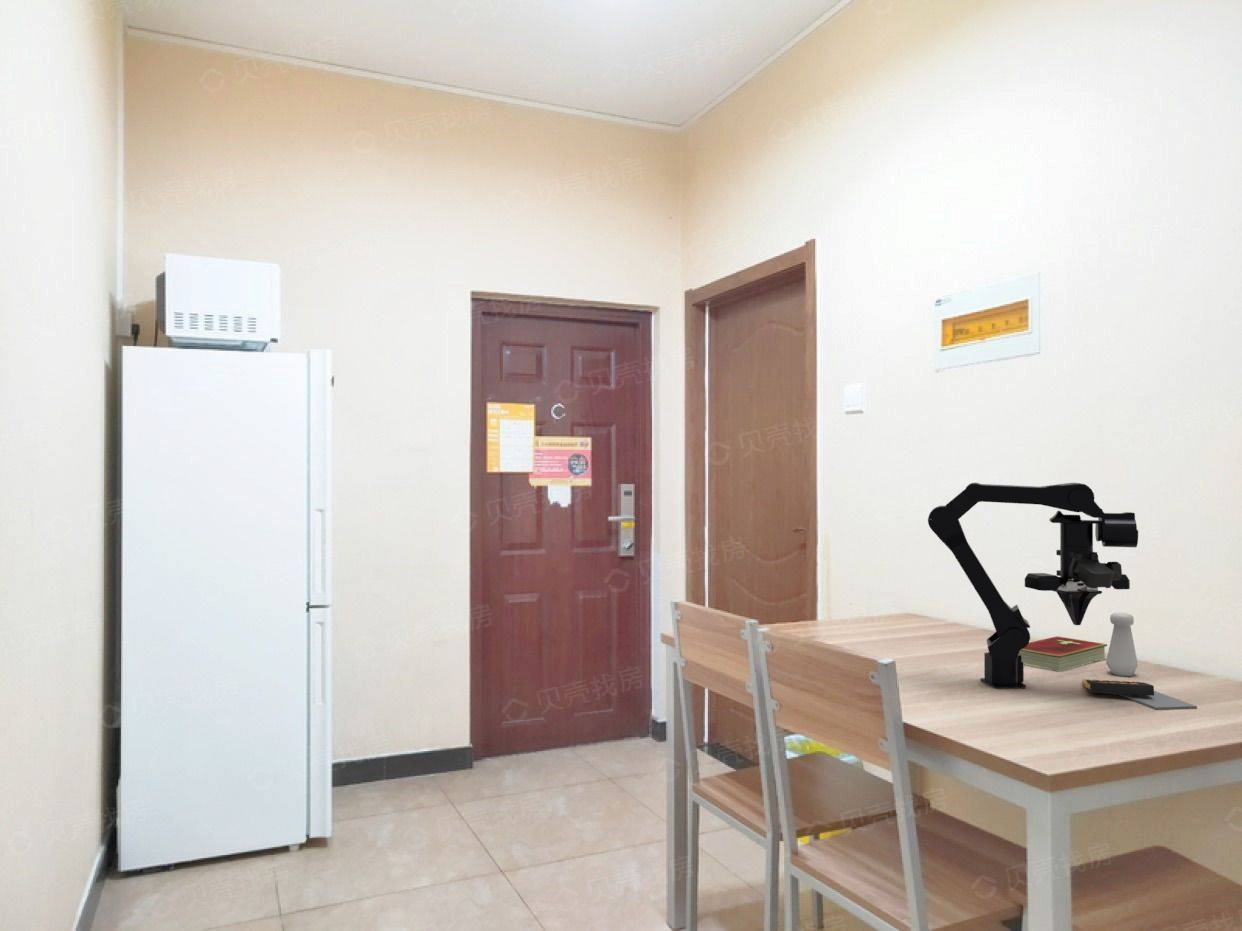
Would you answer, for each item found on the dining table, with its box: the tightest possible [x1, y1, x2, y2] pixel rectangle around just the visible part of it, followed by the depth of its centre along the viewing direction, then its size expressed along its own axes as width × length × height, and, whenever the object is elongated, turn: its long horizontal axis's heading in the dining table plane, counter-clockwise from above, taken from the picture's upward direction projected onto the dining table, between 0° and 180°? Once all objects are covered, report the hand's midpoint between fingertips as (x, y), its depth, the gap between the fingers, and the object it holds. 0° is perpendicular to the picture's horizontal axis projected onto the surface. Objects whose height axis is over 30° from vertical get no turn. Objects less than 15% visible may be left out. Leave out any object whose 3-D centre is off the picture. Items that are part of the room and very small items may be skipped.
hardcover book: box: [1019, 635, 1108, 672], centre depth 196 cm, size 12×21×4 cm, turn 125°
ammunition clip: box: [1081, 678, 1155, 696], centre depth 169 cm, size 11×2×12 cm
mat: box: [1116, 690, 1198, 711], centre depth 163 cm, size 8×12×1 cm, turn 5°
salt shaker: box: [1105, 612, 1139, 677], centre depth 183 cm, size 6×6×13 cm
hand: (1076, 624), depth 170 cm, fingers closed
